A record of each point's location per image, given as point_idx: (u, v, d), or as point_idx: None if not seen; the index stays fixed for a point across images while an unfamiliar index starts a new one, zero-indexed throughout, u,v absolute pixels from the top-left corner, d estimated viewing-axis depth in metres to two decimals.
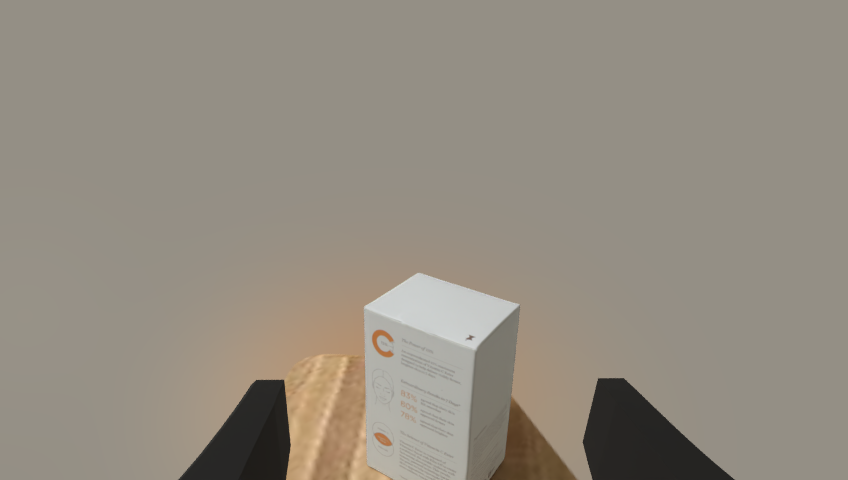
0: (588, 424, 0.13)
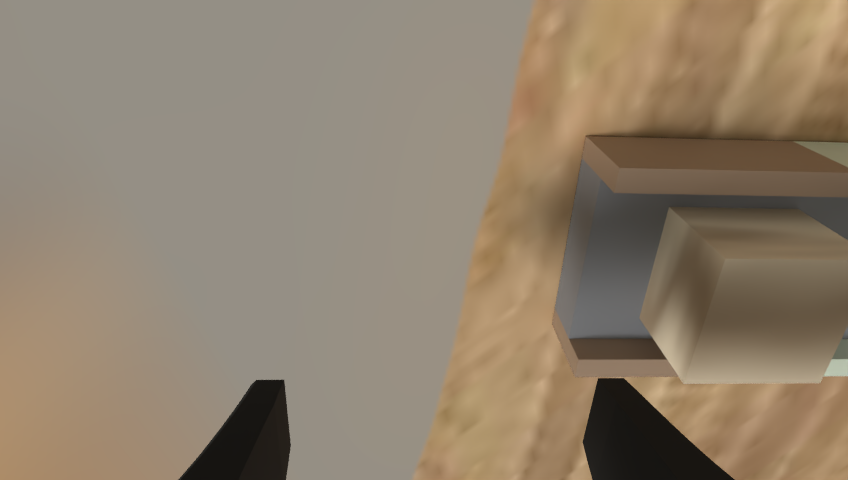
0: (588, 424, 0.13)
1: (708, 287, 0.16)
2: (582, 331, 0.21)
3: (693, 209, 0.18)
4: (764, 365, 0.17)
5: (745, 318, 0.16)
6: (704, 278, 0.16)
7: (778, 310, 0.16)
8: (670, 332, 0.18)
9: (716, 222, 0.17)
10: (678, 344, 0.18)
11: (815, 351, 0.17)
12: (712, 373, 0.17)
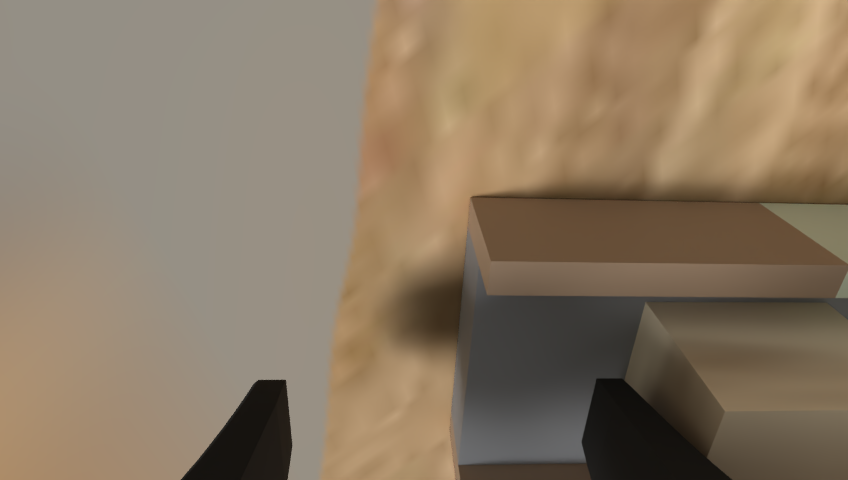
0: (586, 424, 0.13)
1: (700, 443, 0.11)
2: (475, 456, 0.15)
3: (679, 306, 0.13)
4: None
5: None
6: (694, 427, 0.11)
7: (804, 475, 0.11)
8: None
9: (711, 331, 0.12)
10: None
11: None
12: None
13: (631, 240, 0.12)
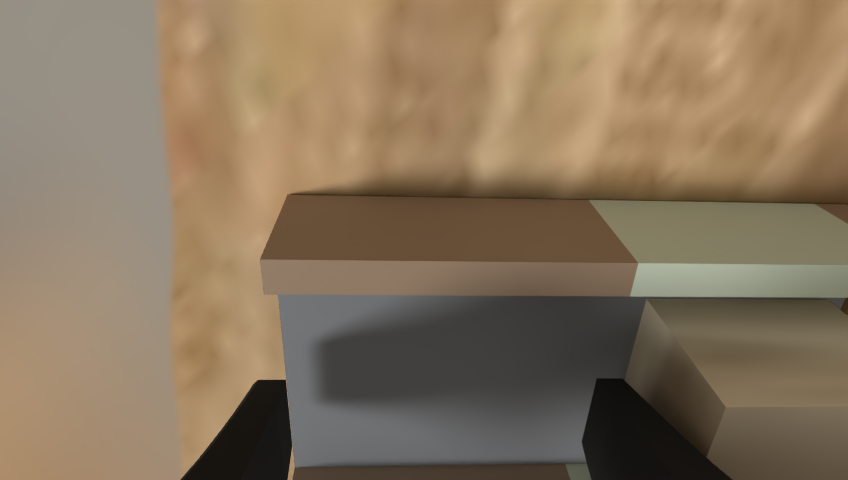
0: (586, 424, 0.13)
1: (700, 440, 0.11)
2: (311, 458, 0.15)
3: (680, 303, 0.13)
4: None
5: None
6: (695, 423, 0.11)
7: (805, 471, 0.11)
8: None
9: (712, 328, 0.12)
10: None
11: None
12: None
13: (425, 238, 0.12)
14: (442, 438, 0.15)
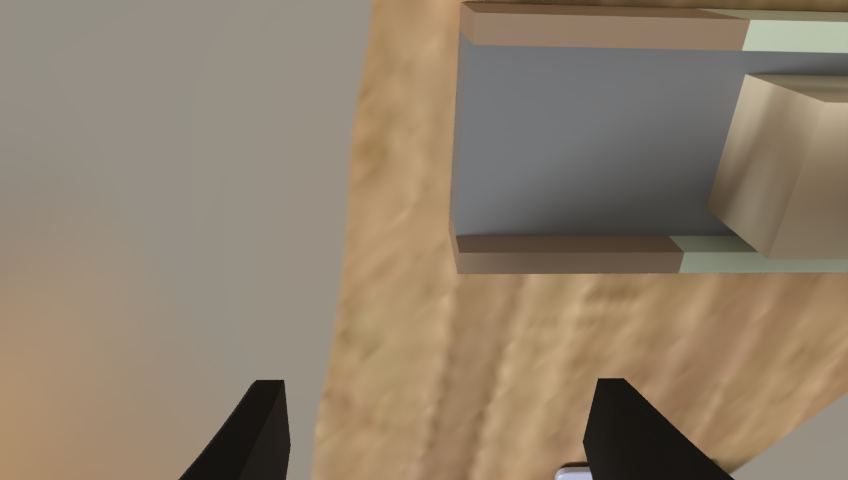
0: (588, 424, 0.13)
1: (801, 142, 0.14)
2: (469, 226, 0.19)
3: (772, 75, 0.17)
4: None
5: (841, 177, 0.15)
6: (796, 134, 0.15)
7: None
8: (749, 209, 0.17)
9: (802, 83, 0.16)
10: (760, 219, 0.16)
11: None
12: (800, 246, 0.16)
13: (585, 12, 0.16)
14: (574, 207, 0.19)
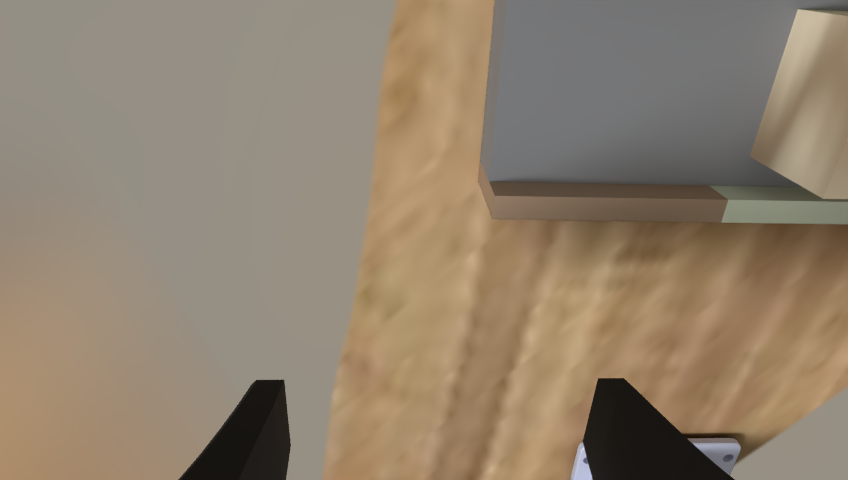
0: (588, 424, 0.13)
1: None
2: (503, 171, 0.18)
3: (826, 10, 0.16)
4: None
5: None
6: None
7: None
8: (801, 149, 0.16)
9: None
10: (813, 157, 0.15)
11: None
12: None
13: None
14: (613, 153, 0.18)
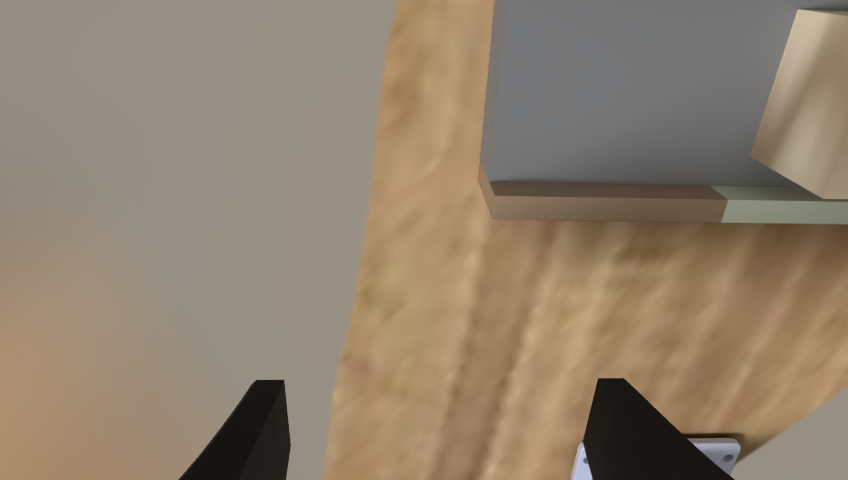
0: (588, 424, 0.13)
1: None
2: (503, 171, 0.18)
3: (826, 10, 0.16)
4: None
5: None
6: None
7: None
8: (801, 149, 0.16)
9: None
10: (813, 157, 0.15)
11: None
12: None
13: None
14: (613, 153, 0.18)
